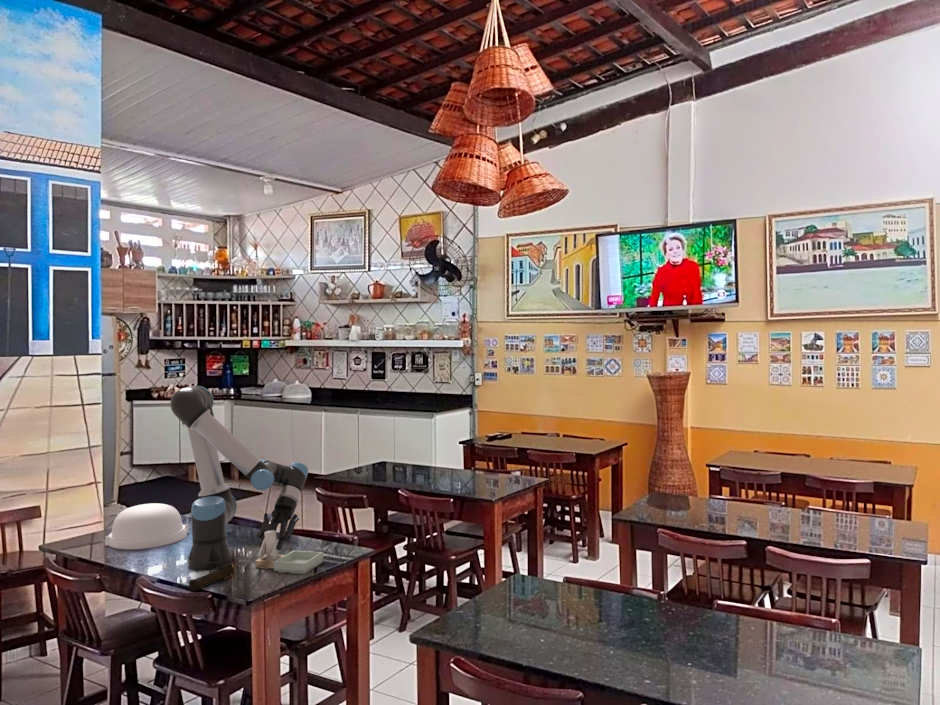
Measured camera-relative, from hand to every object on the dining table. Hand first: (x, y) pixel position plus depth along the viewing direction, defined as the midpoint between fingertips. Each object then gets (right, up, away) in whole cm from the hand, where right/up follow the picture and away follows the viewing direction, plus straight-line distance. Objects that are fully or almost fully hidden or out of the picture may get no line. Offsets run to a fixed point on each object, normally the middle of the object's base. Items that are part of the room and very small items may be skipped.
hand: (266, 557), depth 264 cm
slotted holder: (+1, -4, +4) cm, 5 cm away
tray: (+11, -4, +1) cm, 12 cm away
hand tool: (-14, -5, -14) cm, 21 cm away
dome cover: (-61, -5, +44) cm, 75 cm away
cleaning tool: (+1, -4, +4) cm, 5 cm away
